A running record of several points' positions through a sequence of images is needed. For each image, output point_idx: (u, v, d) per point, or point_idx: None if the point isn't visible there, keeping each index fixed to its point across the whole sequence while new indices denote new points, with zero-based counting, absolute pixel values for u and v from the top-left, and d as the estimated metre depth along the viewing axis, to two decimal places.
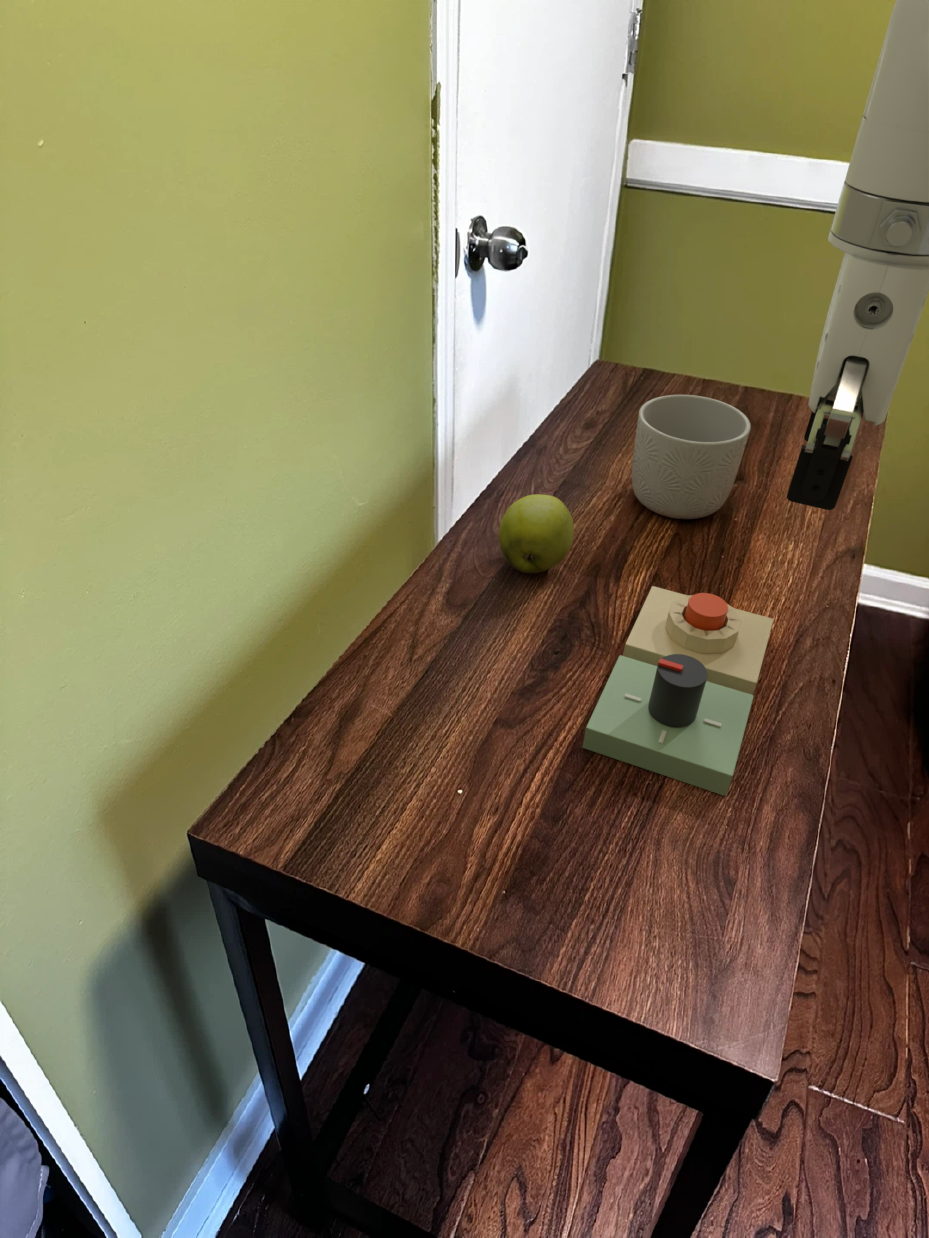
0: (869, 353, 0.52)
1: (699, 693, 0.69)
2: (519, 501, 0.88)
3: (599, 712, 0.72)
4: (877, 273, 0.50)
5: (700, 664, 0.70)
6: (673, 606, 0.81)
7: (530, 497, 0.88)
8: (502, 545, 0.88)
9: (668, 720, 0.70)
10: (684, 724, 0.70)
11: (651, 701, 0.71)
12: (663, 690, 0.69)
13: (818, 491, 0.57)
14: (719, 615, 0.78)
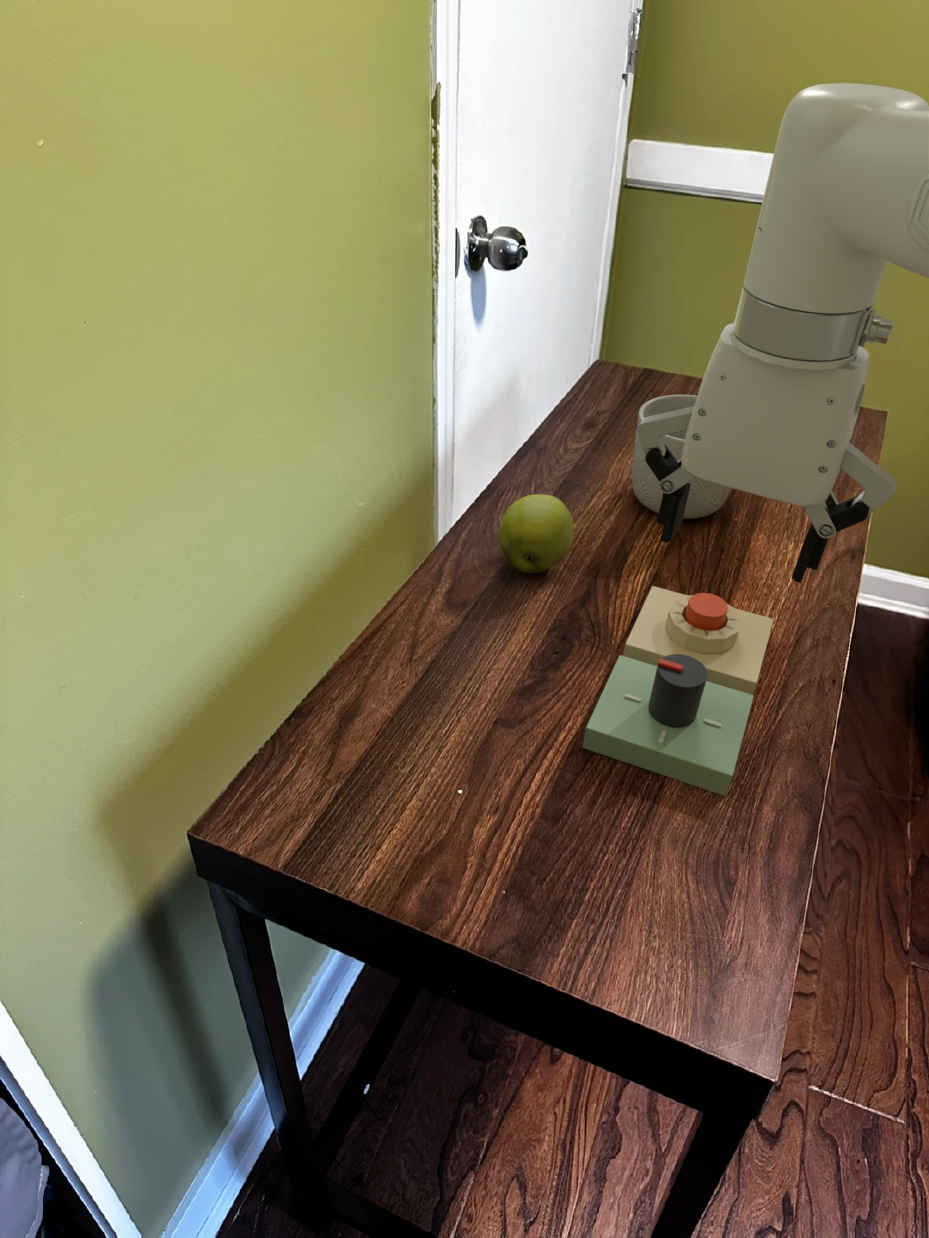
0: None
1: (699, 693, 0.69)
2: (519, 501, 0.88)
3: (599, 712, 0.72)
4: (863, 370, 0.52)
5: (700, 664, 0.70)
6: (673, 606, 0.81)
7: (530, 497, 0.88)
8: (502, 545, 0.88)
9: (668, 720, 0.70)
10: (684, 724, 0.70)
11: (651, 701, 0.71)
12: (663, 690, 0.69)
13: None
14: (719, 615, 0.78)
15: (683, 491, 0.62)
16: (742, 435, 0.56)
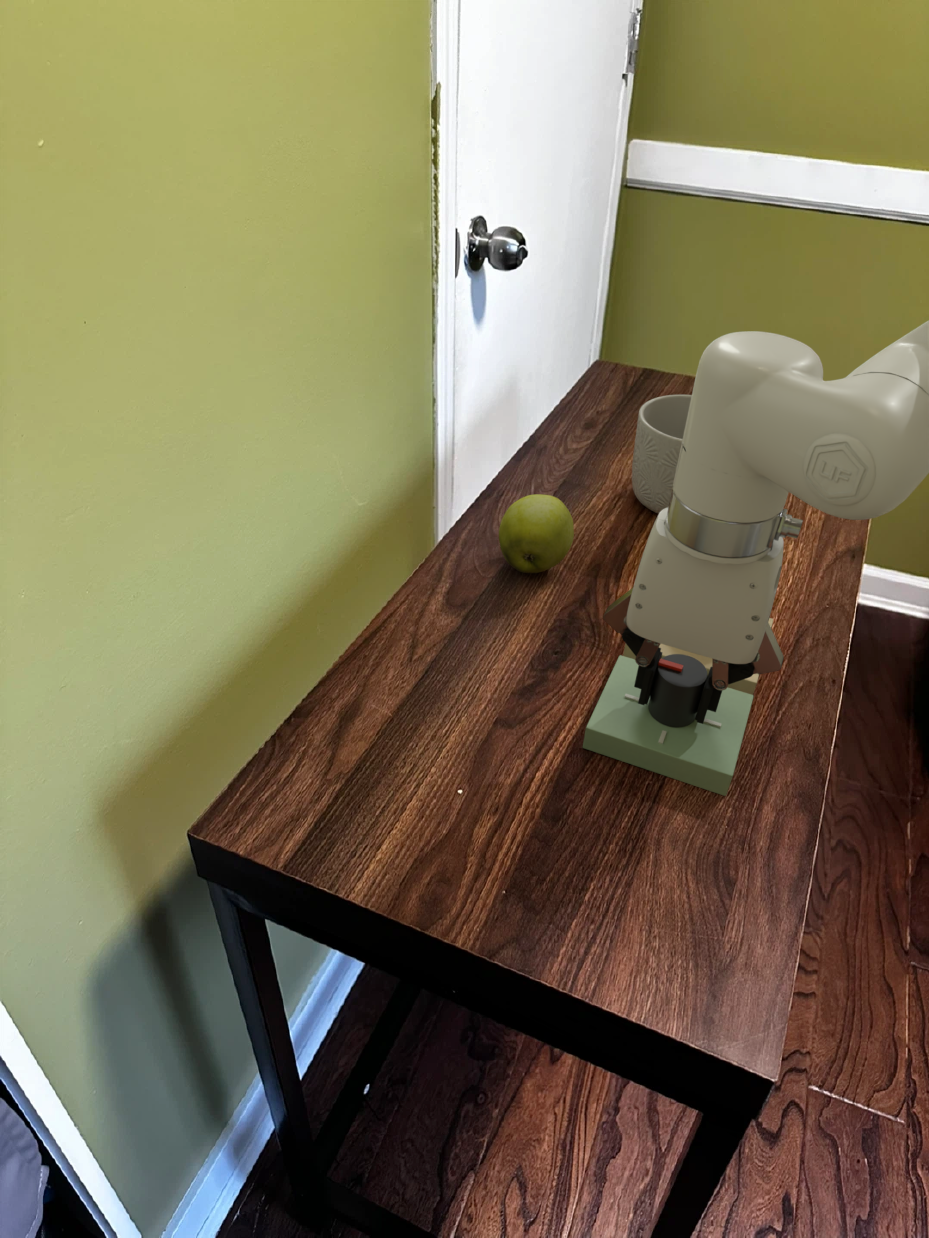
0: None
1: (699, 693, 0.69)
2: (519, 501, 0.88)
3: (599, 712, 0.72)
4: (779, 558, 0.59)
5: (700, 664, 0.70)
6: None
7: (530, 497, 0.88)
8: (502, 545, 0.88)
9: (668, 720, 0.70)
10: (684, 724, 0.70)
11: (651, 701, 0.71)
12: (663, 690, 0.69)
13: None
14: None
15: (656, 662, 0.70)
16: (678, 608, 0.63)
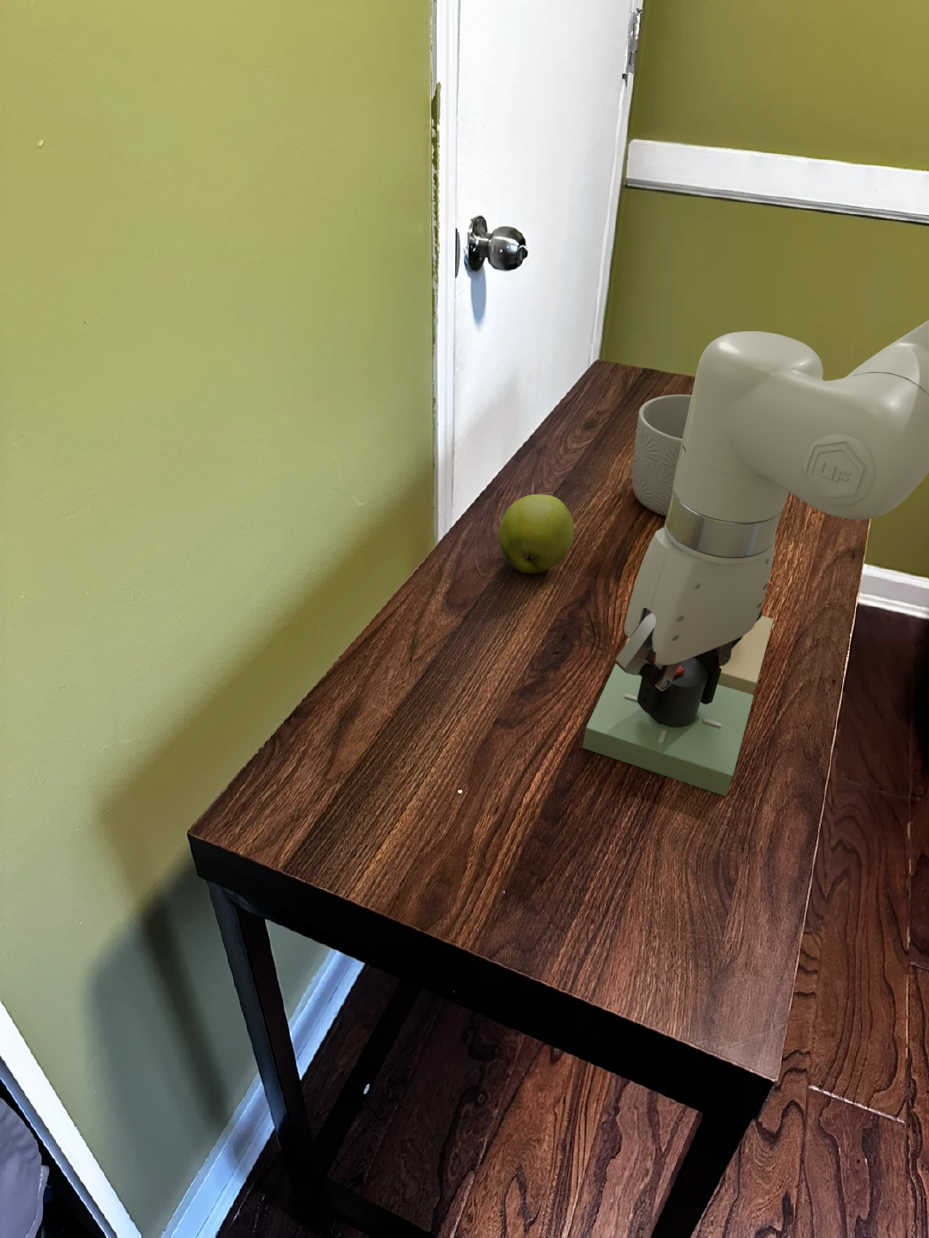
0: None
1: None
2: (519, 501, 0.88)
3: (599, 712, 0.72)
4: None
5: None
6: None
7: (530, 497, 0.88)
8: (502, 545, 0.88)
9: (689, 719, 0.70)
10: (696, 714, 0.71)
11: None
12: (684, 697, 0.68)
13: None
14: None
15: None
16: (711, 617, 0.62)
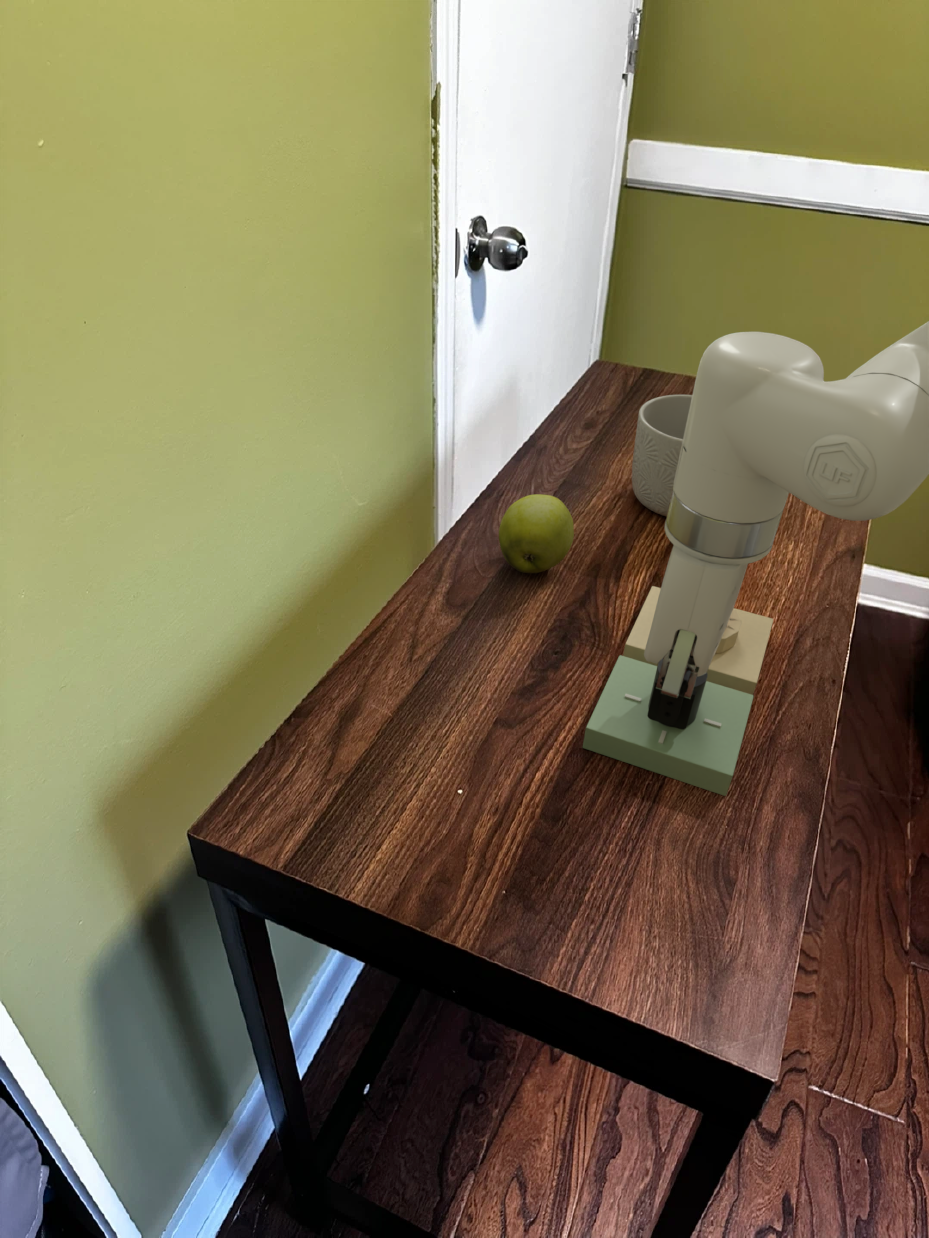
0: None
1: None
2: (519, 501, 0.88)
3: (599, 712, 0.72)
4: None
5: None
6: None
7: (530, 497, 0.88)
8: (502, 545, 0.88)
9: (697, 711, 0.71)
10: None
11: None
12: (698, 694, 0.69)
13: None
14: None
15: None
16: (731, 612, 0.63)
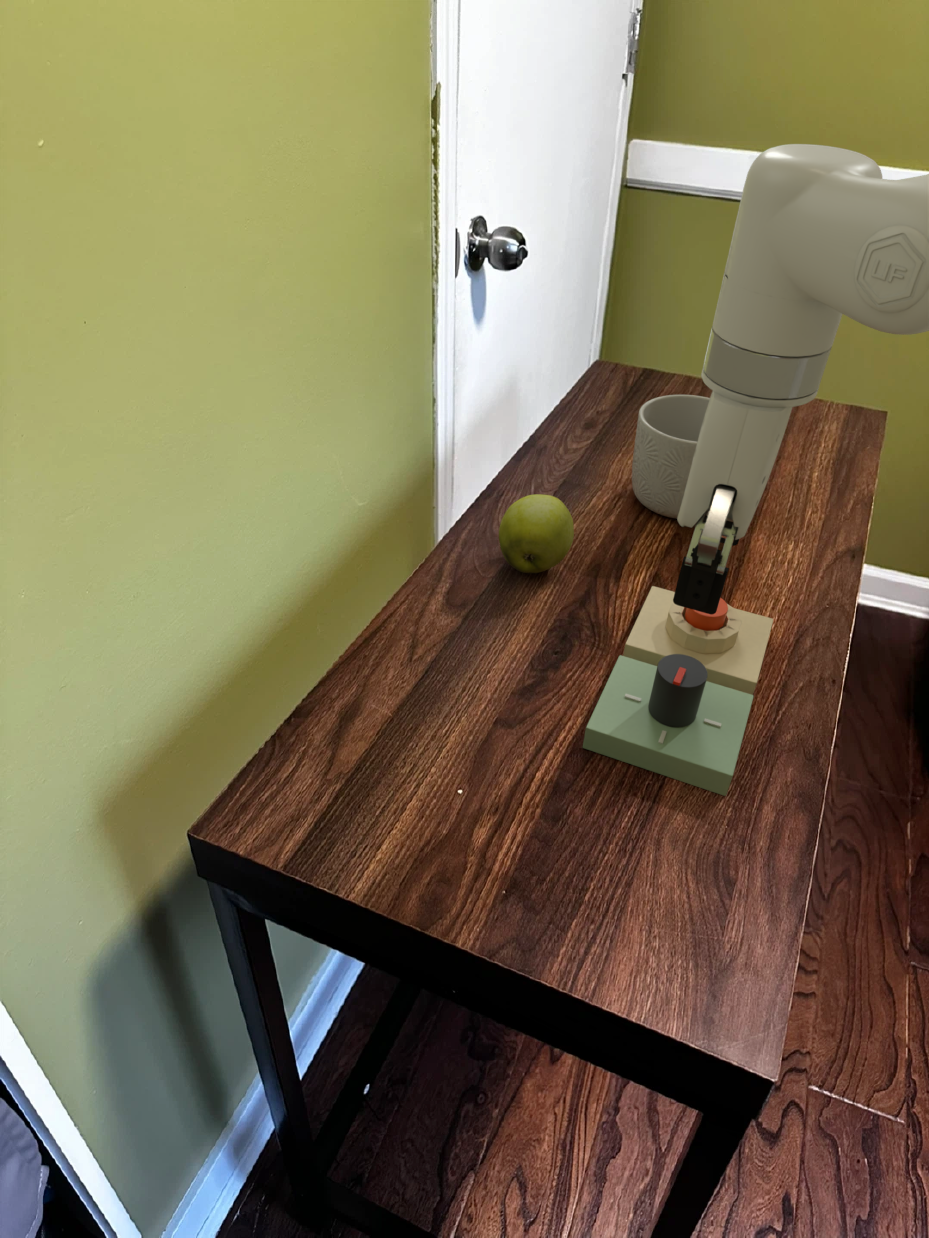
0: None
1: None
2: (519, 501, 0.88)
3: (599, 712, 0.72)
4: None
5: (670, 656, 0.70)
6: (673, 606, 0.81)
7: (530, 497, 0.88)
8: (502, 545, 0.88)
9: None
10: None
11: (680, 717, 0.70)
12: (698, 694, 0.69)
13: None
14: (719, 615, 0.78)
15: None
16: (771, 470, 0.59)
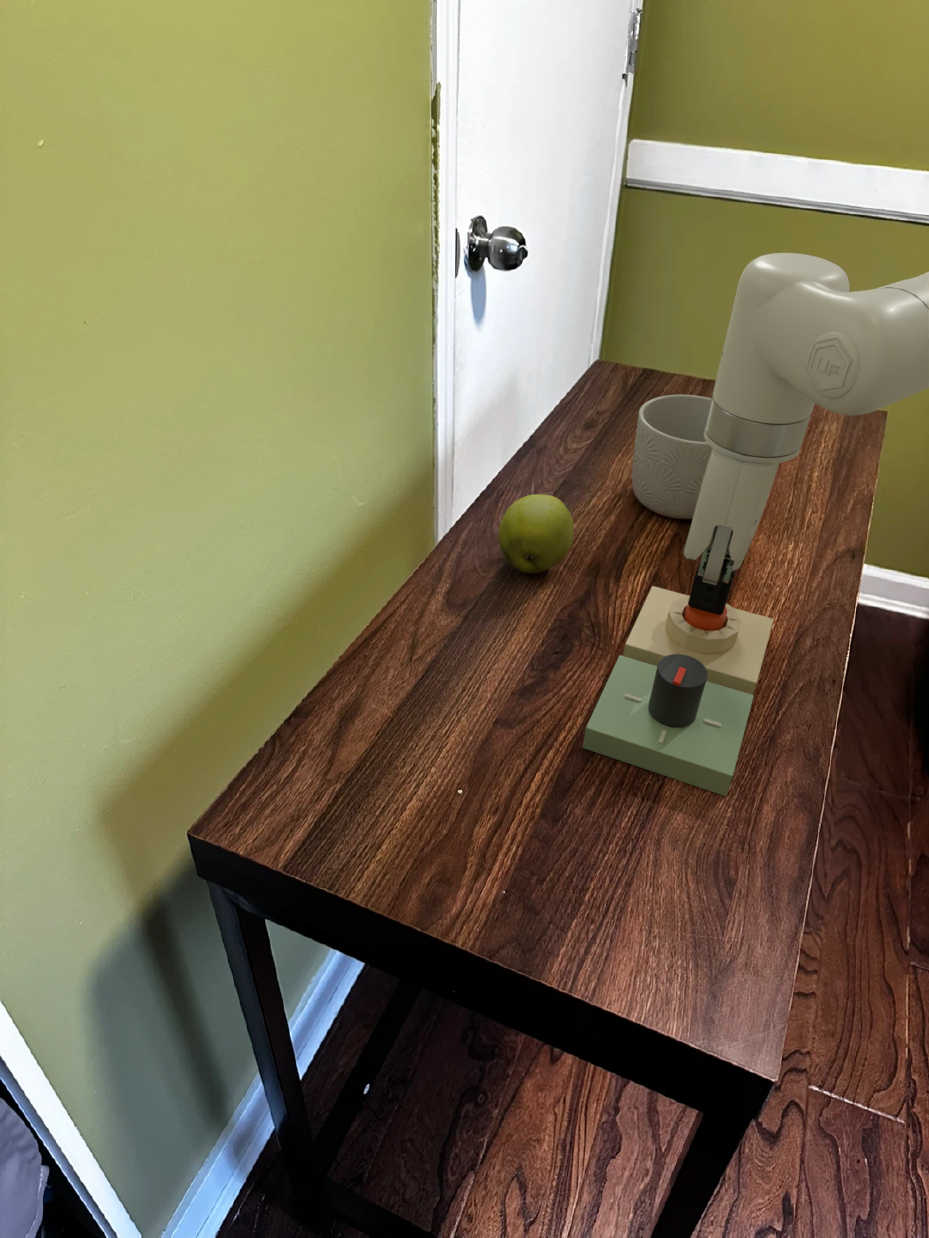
0: None
1: None
2: (519, 501, 0.88)
3: (599, 712, 0.72)
4: None
5: (670, 656, 0.70)
6: (673, 606, 0.81)
7: (530, 497, 0.88)
8: (502, 545, 0.88)
9: None
10: None
11: (680, 717, 0.70)
12: (698, 694, 0.69)
13: None
14: (718, 618, 0.78)
15: None
16: (762, 513, 0.70)
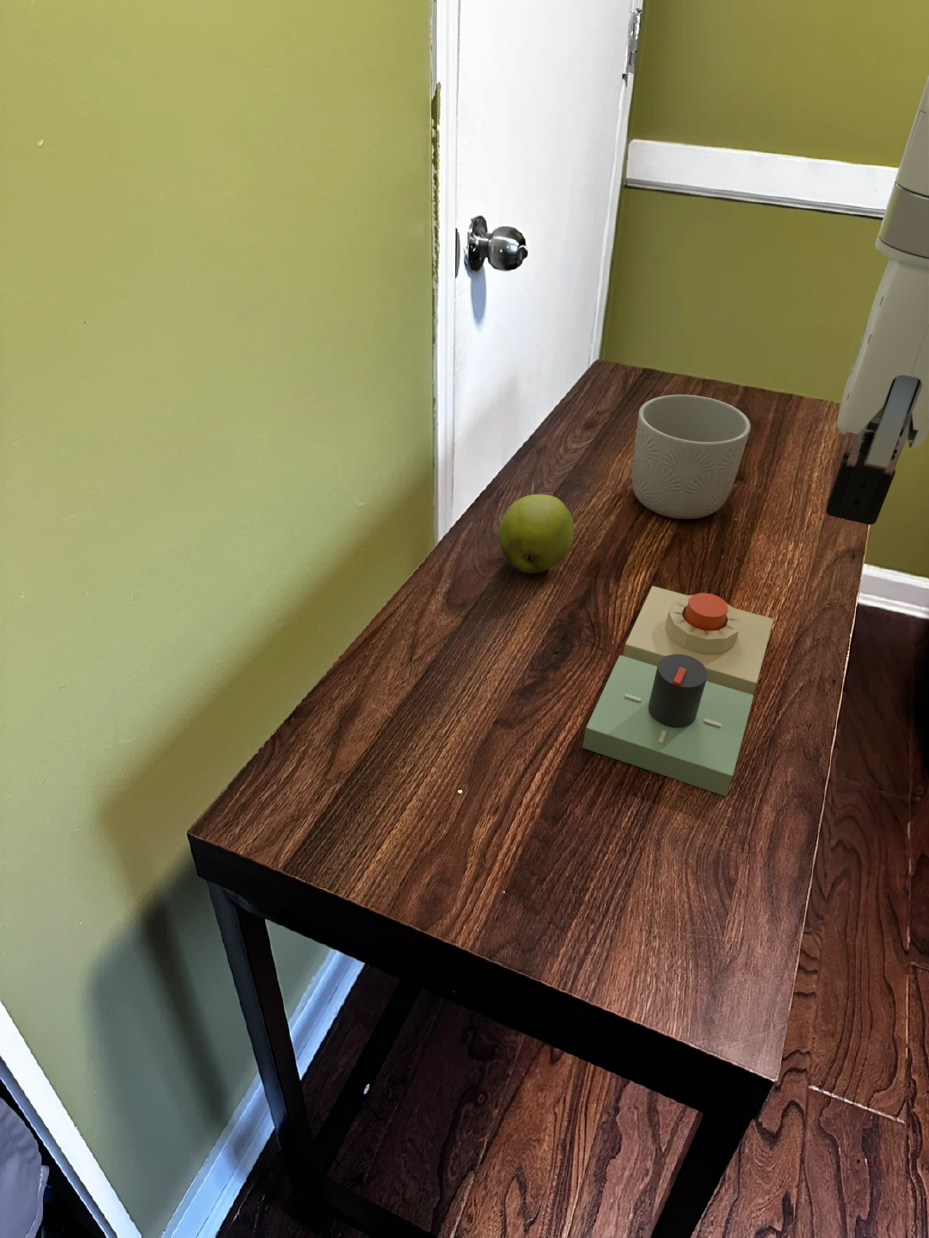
0: None
1: None
2: (519, 501, 0.88)
3: (599, 712, 0.72)
4: None
5: (670, 656, 0.70)
6: (673, 606, 0.81)
7: (530, 497, 0.88)
8: (502, 545, 0.88)
9: None
10: None
11: (680, 717, 0.70)
12: (698, 694, 0.69)
13: None
14: (719, 615, 0.78)
15: None
16: None
